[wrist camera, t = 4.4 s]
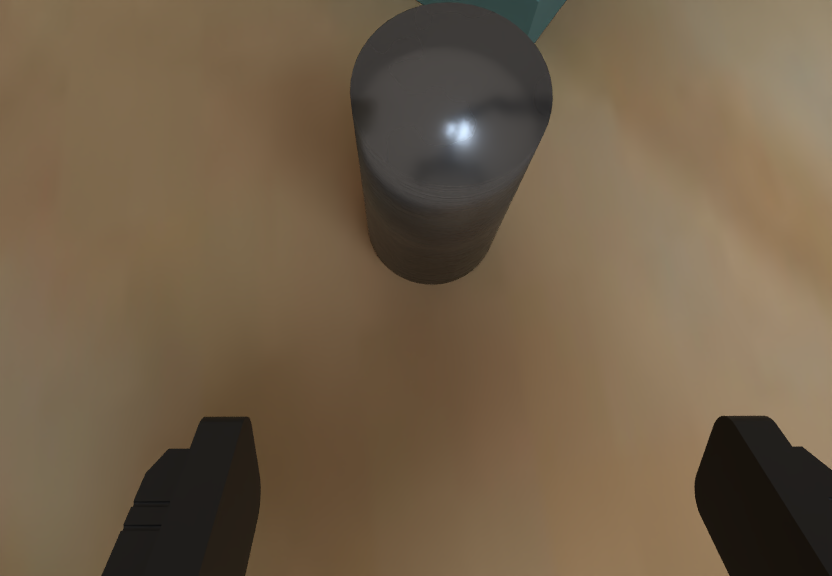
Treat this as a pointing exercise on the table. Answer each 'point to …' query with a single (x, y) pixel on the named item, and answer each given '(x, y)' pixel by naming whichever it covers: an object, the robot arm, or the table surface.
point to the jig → (518, 12)
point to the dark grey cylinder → (445, 134)
